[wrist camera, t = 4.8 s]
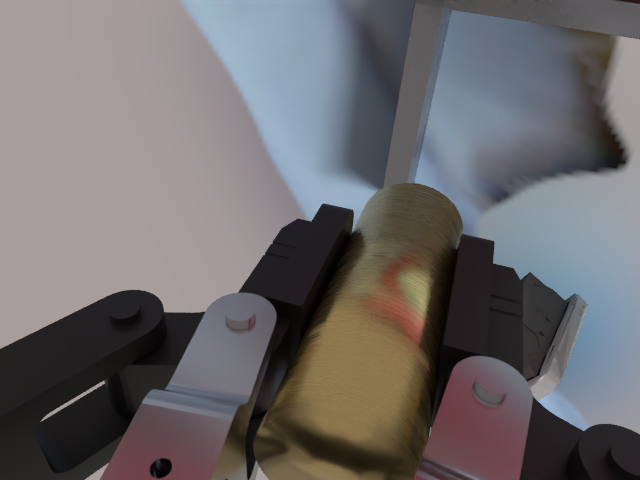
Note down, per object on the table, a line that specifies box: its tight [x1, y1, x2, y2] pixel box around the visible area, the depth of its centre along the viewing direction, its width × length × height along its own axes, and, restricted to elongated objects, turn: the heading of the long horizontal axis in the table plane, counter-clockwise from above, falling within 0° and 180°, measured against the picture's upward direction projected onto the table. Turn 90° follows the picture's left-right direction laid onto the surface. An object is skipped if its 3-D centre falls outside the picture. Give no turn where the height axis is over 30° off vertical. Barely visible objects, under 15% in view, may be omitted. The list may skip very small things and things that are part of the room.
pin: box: [253, 183, 463, 480], centre depth 11 cm, size 3×3×7 cm
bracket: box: [383, 0, 640, 188], centre depth 25 cm, size 17×13×4 cm
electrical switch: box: [520, 273, 588, 401], centre depth 31 cm, size 9×5×9 cm, turn 152°
